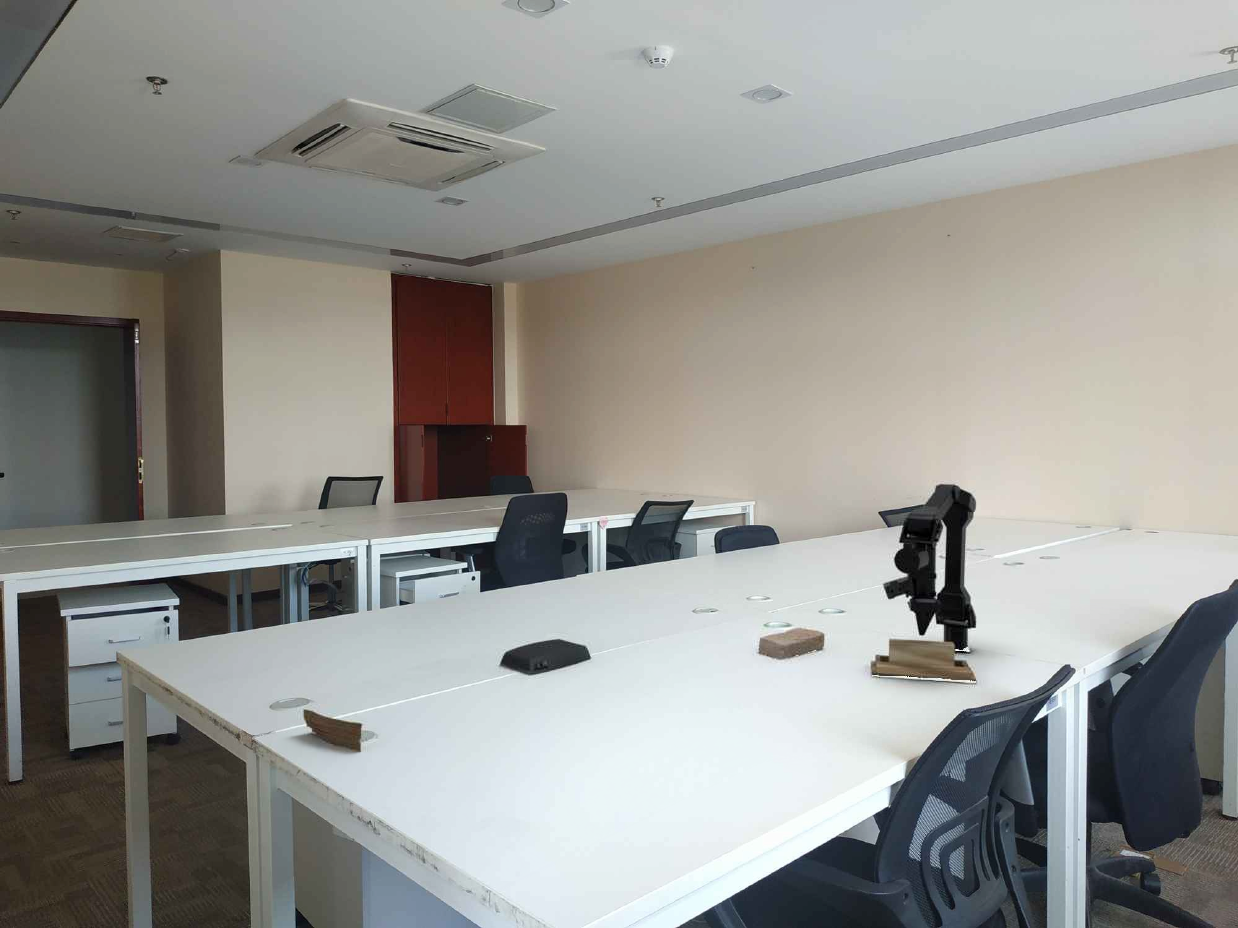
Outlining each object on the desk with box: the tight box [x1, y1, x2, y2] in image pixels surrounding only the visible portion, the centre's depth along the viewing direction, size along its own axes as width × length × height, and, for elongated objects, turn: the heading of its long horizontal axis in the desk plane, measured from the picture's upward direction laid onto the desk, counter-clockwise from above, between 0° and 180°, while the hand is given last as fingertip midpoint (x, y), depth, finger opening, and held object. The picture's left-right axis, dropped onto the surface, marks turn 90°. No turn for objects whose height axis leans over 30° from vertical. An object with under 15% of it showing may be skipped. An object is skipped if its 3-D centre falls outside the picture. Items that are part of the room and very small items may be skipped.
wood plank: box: [302, 708, 363, 753], centre depth 155 cm, size 15×2×5 cm, turn 57°
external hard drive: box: [499, 638, 592, 676], centre depth 207 cm, size 13×19×4 cm
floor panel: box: [870, 654, 977, 682], centre depth 196 cm, size 10×22×2 cm, turn 75°
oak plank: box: [888, 638, 956, 667], centre depth 197 cm, size 4×14×6 cm, turn 75°
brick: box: [758, 627, 826, 661], centre depth 216 cm, size 17×8×5 cm, turn 128°
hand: (921, 635), depth 197 cm, fingers closed
